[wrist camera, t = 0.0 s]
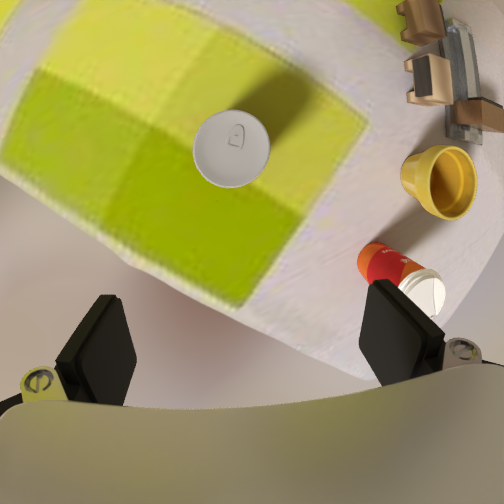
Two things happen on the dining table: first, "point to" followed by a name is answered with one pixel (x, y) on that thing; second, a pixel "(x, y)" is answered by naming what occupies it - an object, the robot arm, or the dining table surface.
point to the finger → (422, 21)
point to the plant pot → (441, 180)
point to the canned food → (231, 148)
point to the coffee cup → (403, 276)
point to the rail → (455, 79)
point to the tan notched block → (430, 80)
